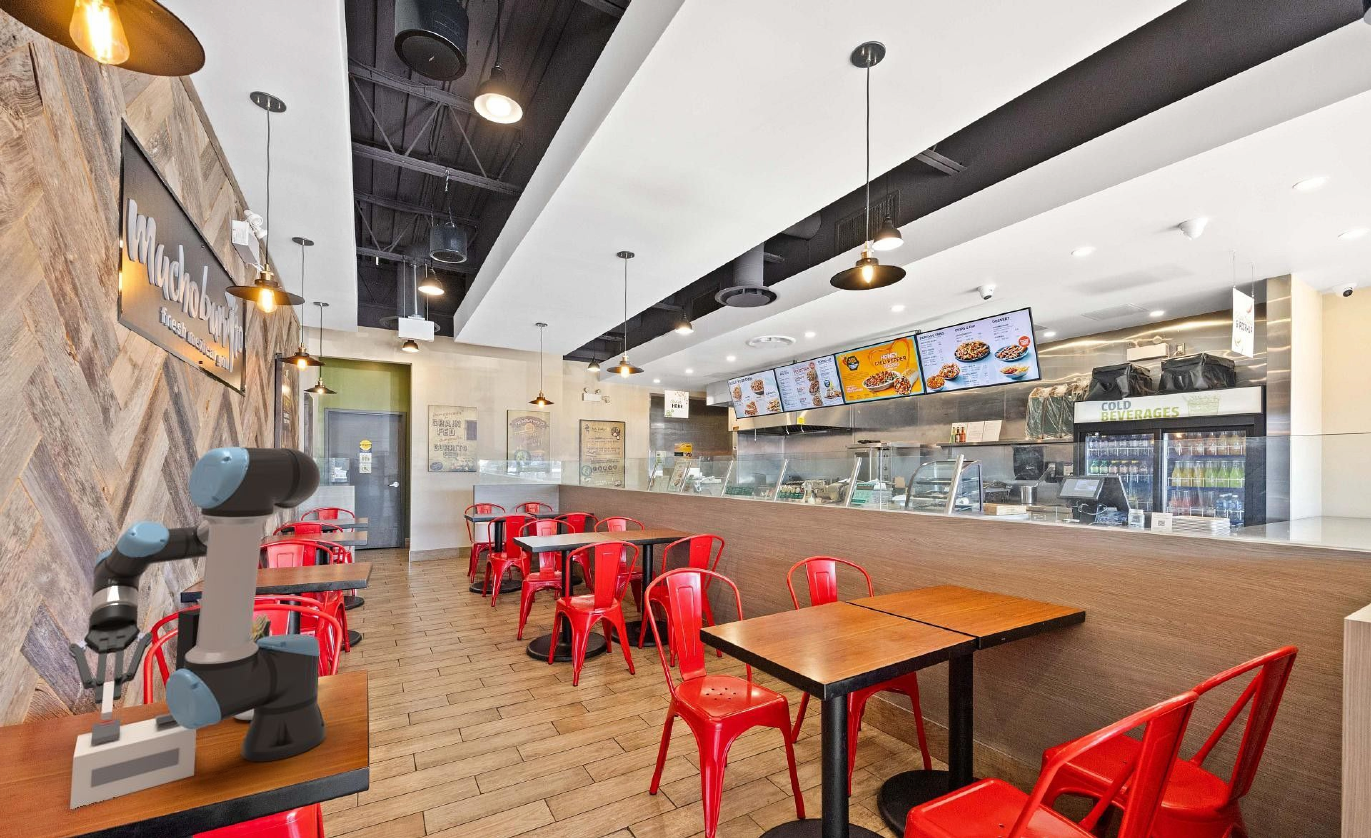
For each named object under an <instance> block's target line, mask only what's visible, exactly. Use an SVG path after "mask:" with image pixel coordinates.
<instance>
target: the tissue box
mask: <svg viewBox="0 0 1371 838" xmlns="http://www.w3.org/2000/svg"><path fill="white" fill-rule="evenodd" d="M196 601H197V602H198V604H199V606H200V607H201V598H198V599H196ZM200 607H199V608H193V609H186V610H182V611H178V614H177V621H178V622H177V639H176V658H175V671H177V670H179V669H183V668H184V662H185V655H186V653H187V652H189V651H190V650H191V649H192V648H194V647H195V646H196V643H197V634H198V625H199V616H200Z"/></svg>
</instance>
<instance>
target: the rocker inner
mask: <svg viewBox="0 0 1371 838" xmlns="http://www.w3.org/2000/svg"><path fill="white" fill-rule="evenodd" d="M155 718H156V719H155ZM155 718H154V719H155V722H156V724H158V723H162V722H167V721H171V720H175V719H174V718H173V716H172V714H171V713H170V712H167V713H166V712H165V713H162V714H159V715H155Z"/></svg>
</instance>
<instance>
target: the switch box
mask: <svg viewBox="0 0 1371 838" xmlns="http://www.w3.org/2000/svg"><path fill="white" fill-rule="evenodd" d="M155 719H156V717H155V718H151V719H146V720H142V721H138V722H132V723H129V724H124V725H120V737H119V738H118V739H114V740H109V741H105V742H101V743H97V744H92V745H91V739H92V732H89V733H84V734H78V735H77V739H76V744H75V749H74V753H73V760H72V775H71V790H70V804H69V805H70V806H69V807H70V808H69V810H70V811H72V810H75V808H76V809H78V808H77V807H79V808H81V807H80V806H83V805H86V806H89V804H90V805H92V804H91V803H93V802H97V803H100V801H101V802H103V800H104V801H107V800H111V799H114V798H113V797H115V798H118V797H123V796H125V795H128V794H133V793H136V792H140V791H143V790H146V789H149V788H153V787H154V788H155V787H158V786H160V785H165V784H167V783H172V782H174V781H175V782H176V781H179V780H182V779H185V778H189V777H193V776H194V775H195V763H196V762H195V760H196V739H197V729H187V728H185V727H182V726H181V725H180V724H178V723H177V722H176V720H171V721H167V722H162V723H158V724H156V722H155ZM83 807H84V806H83ZM71 809H72V810H71Z"/></svg>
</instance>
